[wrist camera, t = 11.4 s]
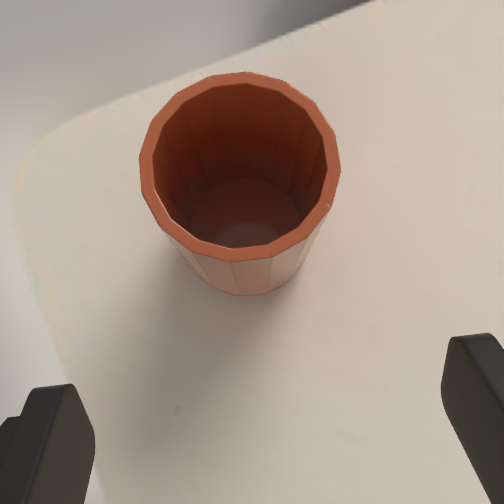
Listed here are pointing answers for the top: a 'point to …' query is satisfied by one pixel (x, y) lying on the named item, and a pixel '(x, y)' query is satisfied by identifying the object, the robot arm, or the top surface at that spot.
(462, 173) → the top surface
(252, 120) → the cup
